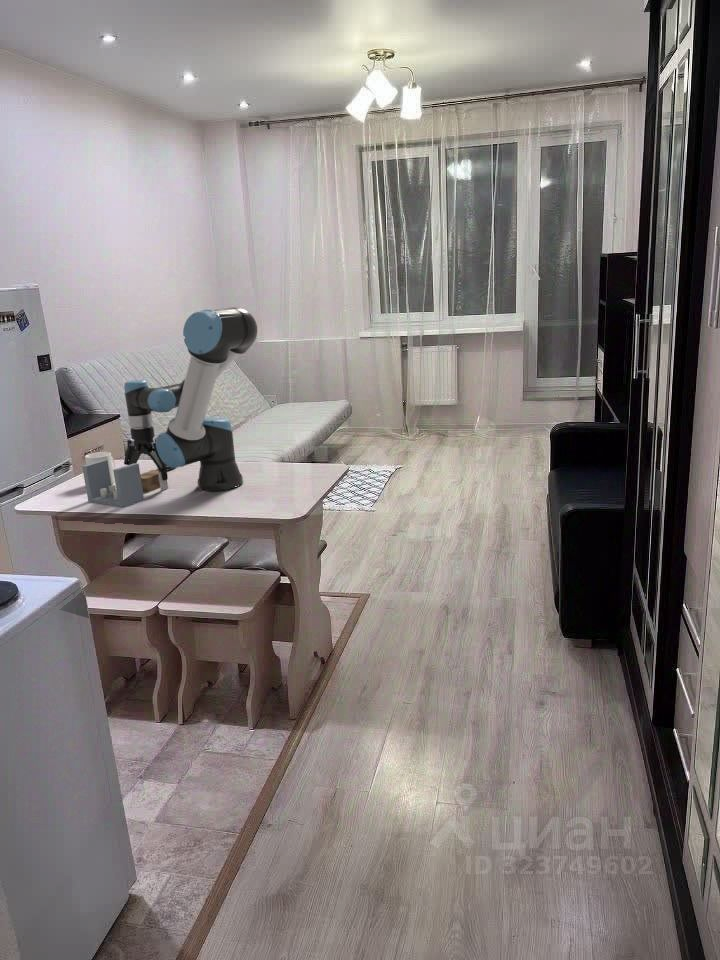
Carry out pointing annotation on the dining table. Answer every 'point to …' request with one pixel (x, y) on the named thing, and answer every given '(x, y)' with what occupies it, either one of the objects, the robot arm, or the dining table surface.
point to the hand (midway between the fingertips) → (150, 487)
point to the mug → (102, 456)
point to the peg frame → (107, 493)
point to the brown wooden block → (150, 481)
